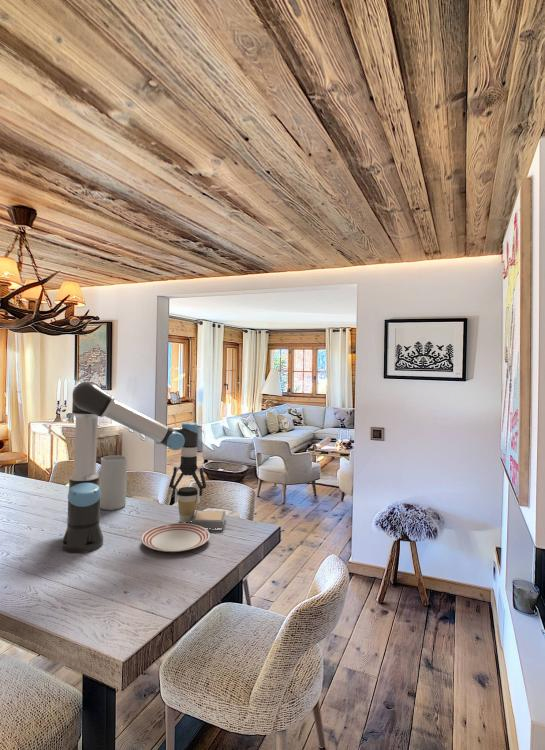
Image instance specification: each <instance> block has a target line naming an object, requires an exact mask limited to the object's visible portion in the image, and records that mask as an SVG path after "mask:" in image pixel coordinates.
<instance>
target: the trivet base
mask: <svg viewBox="0 0 545 750" xmlns="http://www.w3.org/2000/svg"><path fill="white" fill-rule="evenodd" d="M224 521H225V522H226V510H225V511H224V510H195V513H194V517H193V519H192V522H191V524H195V525H198V526H201V527H203V528H208V529H209V528H211V529H215V528H216V529H217V528H222V529H223V530H224V527H223V525H224V526H225V523H224Z"/></svg>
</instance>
